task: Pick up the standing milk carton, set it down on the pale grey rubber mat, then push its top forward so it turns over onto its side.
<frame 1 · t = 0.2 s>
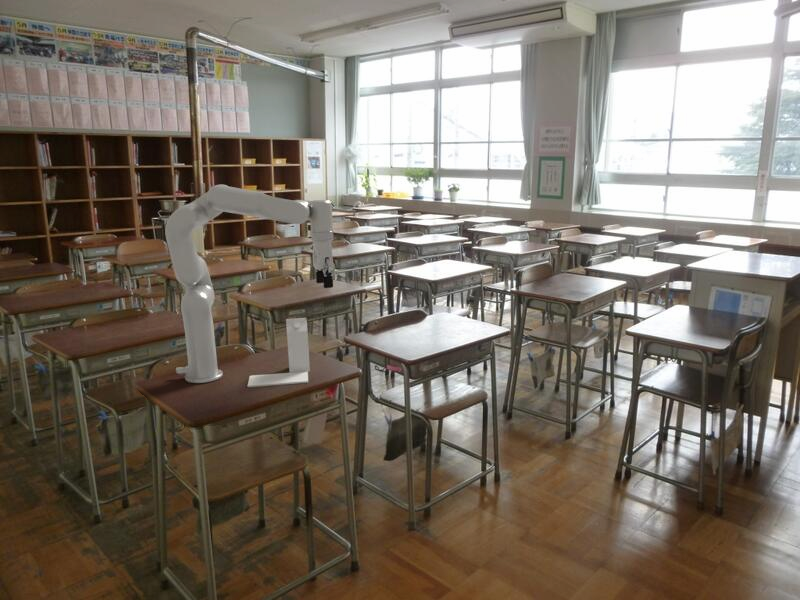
hand: (324, 285, 214), 31 cm above the table, tool pointing down, fingers open, 9 cm apart
mat: (278, 379, 210), on the table
milk carton: (299, 370, 220), on the table
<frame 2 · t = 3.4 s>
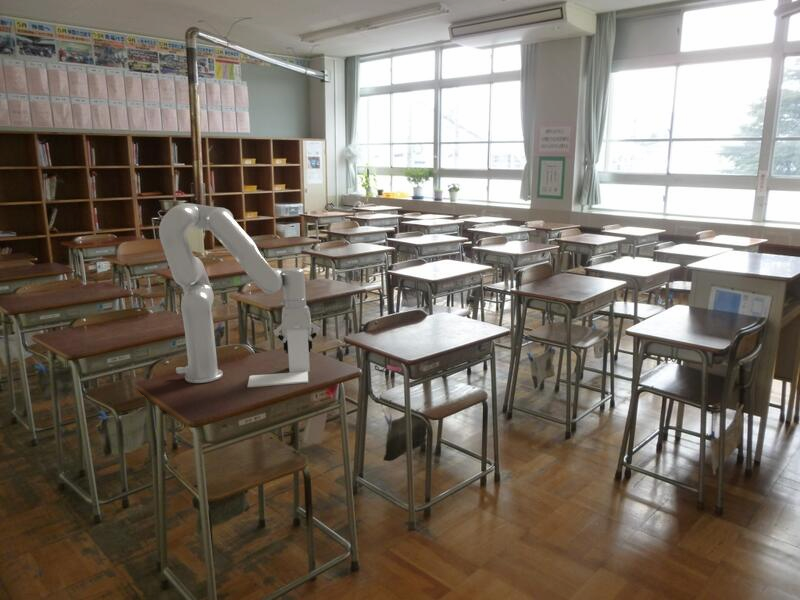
hand: (298, 351, 218), 7 cm above the table, tool pointing down, fingers closed on milk carton, 7 cm apart
milk carton: (299, 370, 220), on the table, touching gripper
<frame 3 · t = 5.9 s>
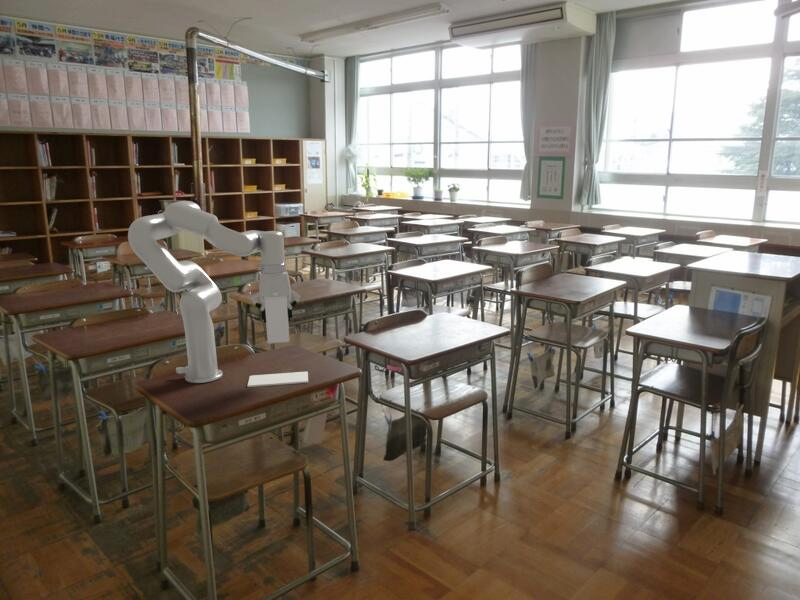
hand: (277, 320, 205), 21 cm above the table, tool pointing down, fingers closed on milk carton, 7 cm apart
milk carton: (278, 340, 207), point 14 cm above the table, touching gripper
when the fingers open (8 cm above the table, at t = 8.6 s): milk carton stays where it is, resting on mat.
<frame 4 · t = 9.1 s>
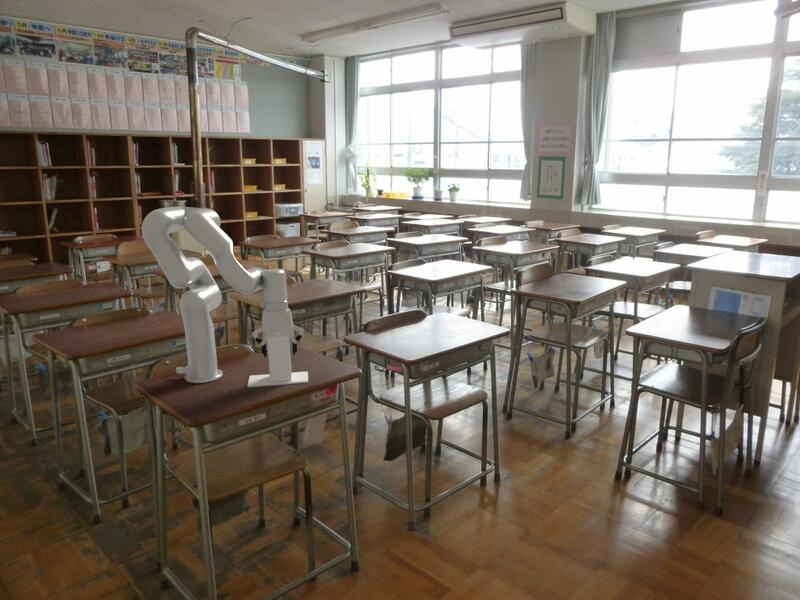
hand: (279, 354, 208), 9 cm above the table, tool pointing down, fingers open, 9 cm apart
milk carton: (281, 378, 210), resting on mat
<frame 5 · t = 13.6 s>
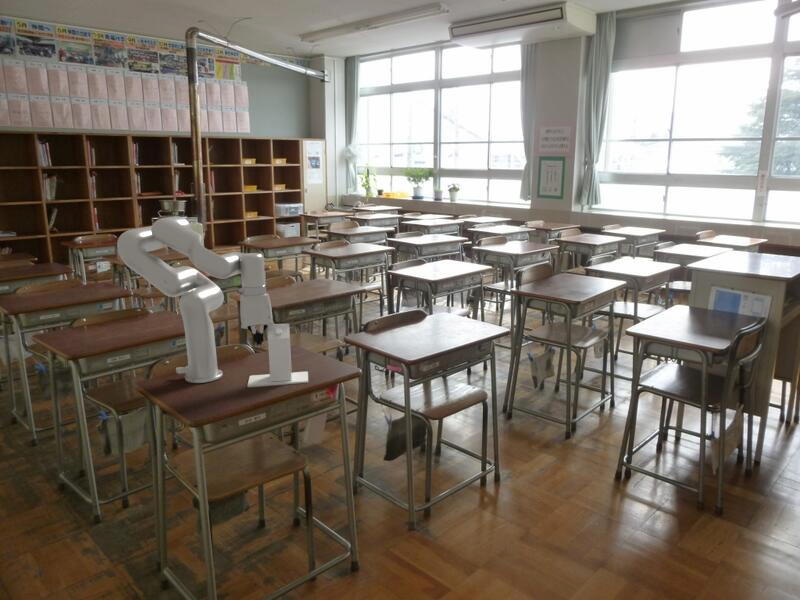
hand: (259, 343, 206), 13 cm above the table, tool pointing down, fingers closed
milk carton: (281, 378, 210), resting on mat, touching gripper
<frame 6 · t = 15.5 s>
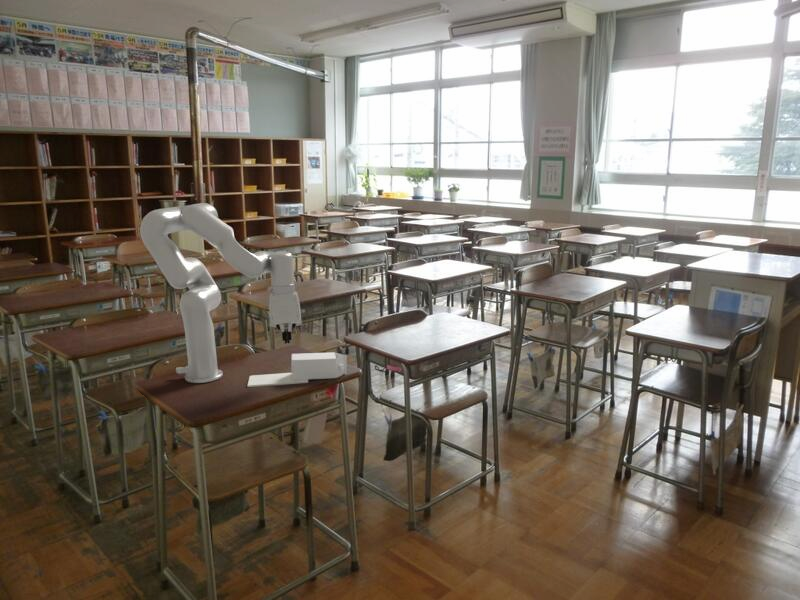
hand: (287, 342, 207), 13 cm above the table, tool pointing down, fingers closed
milk carton: (290, 366, 209), point 4 cm above the table, touching mat
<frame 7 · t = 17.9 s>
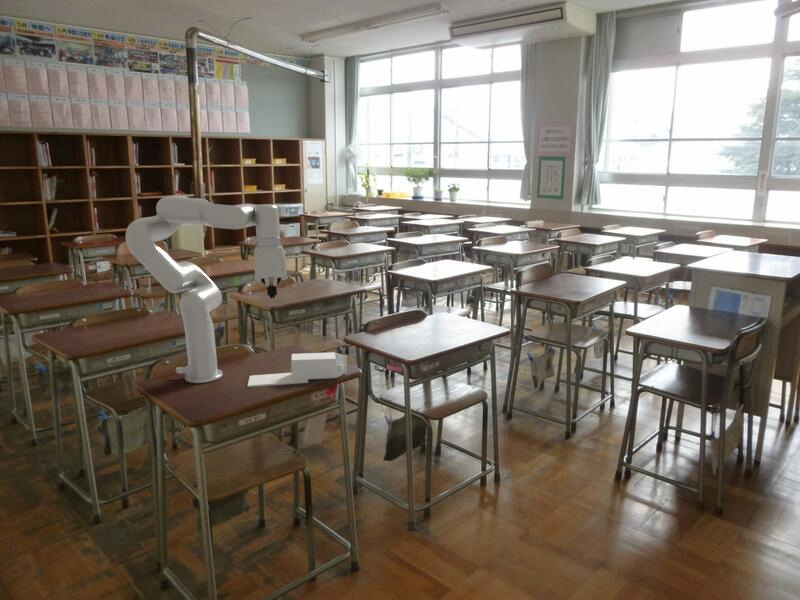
hand: (272, 297, 204), 29 cm above the table, tool pointing down, fingers closed
nothing on the table moved.
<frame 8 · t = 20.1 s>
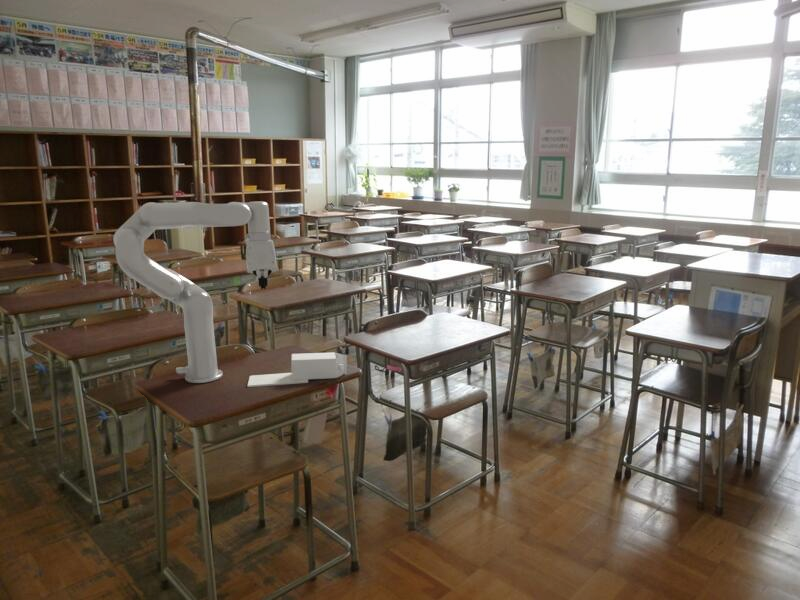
hand: (263, 288, 219), 29 cm above the table, tool pointing down, fingers closed
nothing on the table moved.
at the end: milk carton tilted 92°; milk carton inside the target area (2.1 cm from its centre), point 4.4 cm above the table; the gripper is holding nothing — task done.
